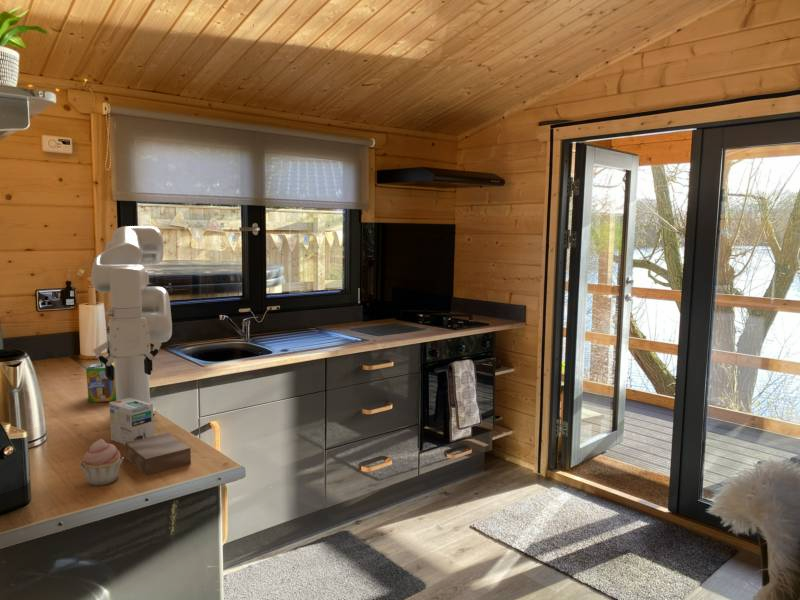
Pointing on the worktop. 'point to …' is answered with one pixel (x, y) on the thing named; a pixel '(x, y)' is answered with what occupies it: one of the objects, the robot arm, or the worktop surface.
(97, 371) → the chalk box
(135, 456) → the walnut base block
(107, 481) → the cupcake
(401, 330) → the worktop surface
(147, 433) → the light bulb box
